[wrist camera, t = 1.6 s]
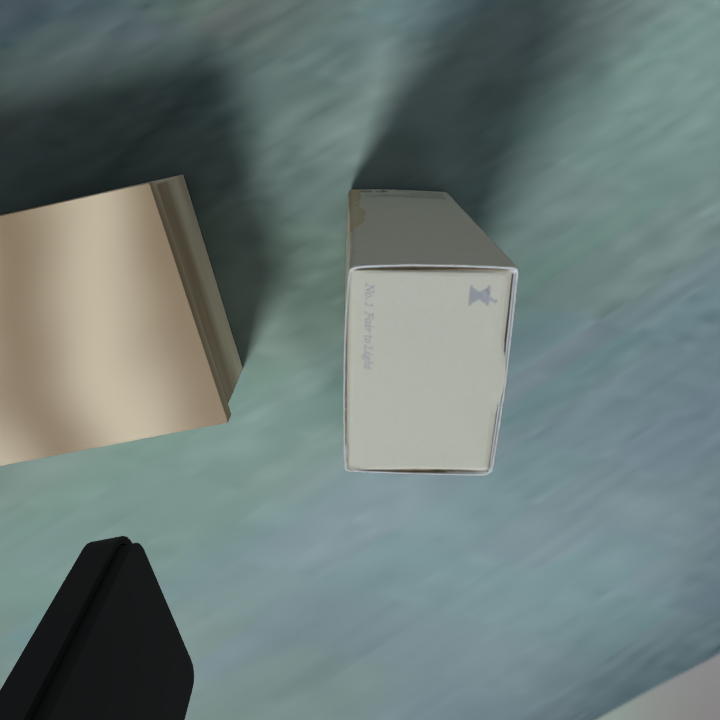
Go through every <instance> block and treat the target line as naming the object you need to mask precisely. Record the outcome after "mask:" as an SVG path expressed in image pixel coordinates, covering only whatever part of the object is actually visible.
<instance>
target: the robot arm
mask: <svg viewBox="0 0 720 720" xmlns="http://www.w3.org/2000/svg"><path fill="white" fill-rule="evenodd" d="M193 683H194V670H193V664H192V661H191V659H190V656H189V654H188V652H187V649H186V647H185V645H184V642H183V640H182V638H181V635H180V633H179V631H178V628H177V626H176V624H175V621H174V619H173V617H172V614H171V612H170V610H169V607H168V605H167V603H166V600H165V598H164V596H163V593H162V591H161V589H160V586H159V584H158V581H157V579H156V577H155V574H154V572H153V570H152V567H151V565H150V563H149V560H148V558H147V556H146V553H145V551H144V549H143V547H142V546H141V545H140V544H139V543H133V544H132V542H131V540H130V539H128V538H127V537H125V536H121V537H115V538H110V539H105V540H100V541H94V542H90V543H88V544H87V545H86V546H85V547H84V548H83V550H82V552H81V553H80V555H79V557H78V558H77V560H76V562H75V564H74V565H73V567H72V569H71V570H70V572H69V574H68V576H67V577H66V579H65V581H64V582H63V584H62V586H61V588H60V589H59V591H58V593H57V594H56V596H55V598H54V600H53V601H52V603H51V605H50V606H49V608H48V610H47V611H46V613H45V615H44V617H43V618H42V620H41V622H40V623H39V625H38V627H37V629H36V630H35V632H34V634H33V635H32V637H31V639H30V641H29V642H28V644H27V646H26V647H25V649H24V651H23V652H22V654H21V656H20V658H19V659H18V661H17V663H16V664H15V666H14V668H13V670H12V671H11V673H10V675H9V676H8V678H7V680H6V682H5V683H4V685H3V687H2V688H1V690H0V720H184V719H185V715H186V712H187V708H188V704H189V700H190V696H191V692H192V688H193Z"/></svg>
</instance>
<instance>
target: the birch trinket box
mask: <svg viewBox="0 0 720 720" xmlns="http://www.w3.org/2000/svg"><path fill="white" fill-rule="evenodd" d="M242 370H243V368H242V364H241V361H240V358H239V355H238V351H237V348H236V345H235V342H234V338H233V335H232V332H231V329H230V325H229V322H228V319H227V316H226V312H225V309H224V306H223V303H222V299H221V296H220V293H219V289H218V286H217V283H216V280H215V276H214V273H213V270H212V267H211V263H210V260H209V257H208V254H207V250H206V247H205V244H204V241H203V237H202V234H201V231H200V228H199V224H198V221H197V218H196V215H195V211H194V208H193V205H192V202H191V198H190V195H189V192H188V188H187V185H186V182H185V179H184V175H183V174H182V175H178V176H173V177H169V178H164V179H160V180H155V181H151V182H146V183H142V184H137V185H133V186H128V187H124V188H119V189H115V190H110V191H106V192H101V193H97V194H92V195H88V196H83V197H79V198H74V199H70V200H65V201H61V202H56V203H52V204H47V205H43V206H38V207H34V208H29V209H25V210H20V211H16V212H11V213H7V214H2V215H0V466H1V465H7V464H12V463H17V462H22V461H28V460H33V459H38V458H43V457H49V456H54V455H59V454H64V453H70V452H75V451H80V450H85V449H91V448H96V447H101V446H106V445H112V444H117V443H122V442H127V441H133V440H138V439H143V438H149V437H154V436H159V435H164V434H170V433H175V432H180V431H185V430H191V429H196V428H201V427H206V426H212V425H217V424H222V423H227V422H228V421H229V418H230V416H231V412H230V409H229V406H228V403H229V400H230V398H231V395H232V393H233V391H234V388H235V386H236V384H237V381H238V379H239V377H240V374H241V372H242Z"/></svg>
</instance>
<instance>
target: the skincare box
mask: <svg viewBox="0 0 720 720" xmlns="http://www.w3.org/2000/svg"><path fill="white" fill-rule="evenodd" d="M518 276H519V269H518V267H517V266H516V265H515V264H514V263H513V262H512V261H511V260H510V259H509V258H508V257H507V256H506V255H505V254H504V253H503V252H502V251H501V249H499V247H498V246H497V245H496V244H495V243H494V242H493V241H492V240H491V239H490V238H489V236H488V235H487V234H486V233H485V232H484V231H483V230H482V229H481V228H480V227H479V226H478V225H477V224H476V223H475V222H474V221H473V220H472V218H471V217H470V216H469V215H468V214H467V213H466V212H465V211H464V210H463V209H462V208H461V207H460V206H459V205H458V204H457V203H456V202H455V200H454V199H453V198H452V197H451V196H450V195H449V194H448V193H446V192H438V191H418V190H390V189H353V190H350V191H349V193H348V216H347V243H346V281H345V330H344V376H343V430H344V467H345V469H346V470H347V471H352V472H376V473H401V474H432V475H487V474H489V473H490V472H491V471H492V470H493V467H494V460H495V455H496V448H497V442H498V436H499V428H500V422H501V416H502V409H503V402H504V396H505V389H506V383H507V373H508V364H509V355H510V348H511V339H512V329H513V320H514V312H515V302H516V291H517V283H518Z"/></svg>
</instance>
